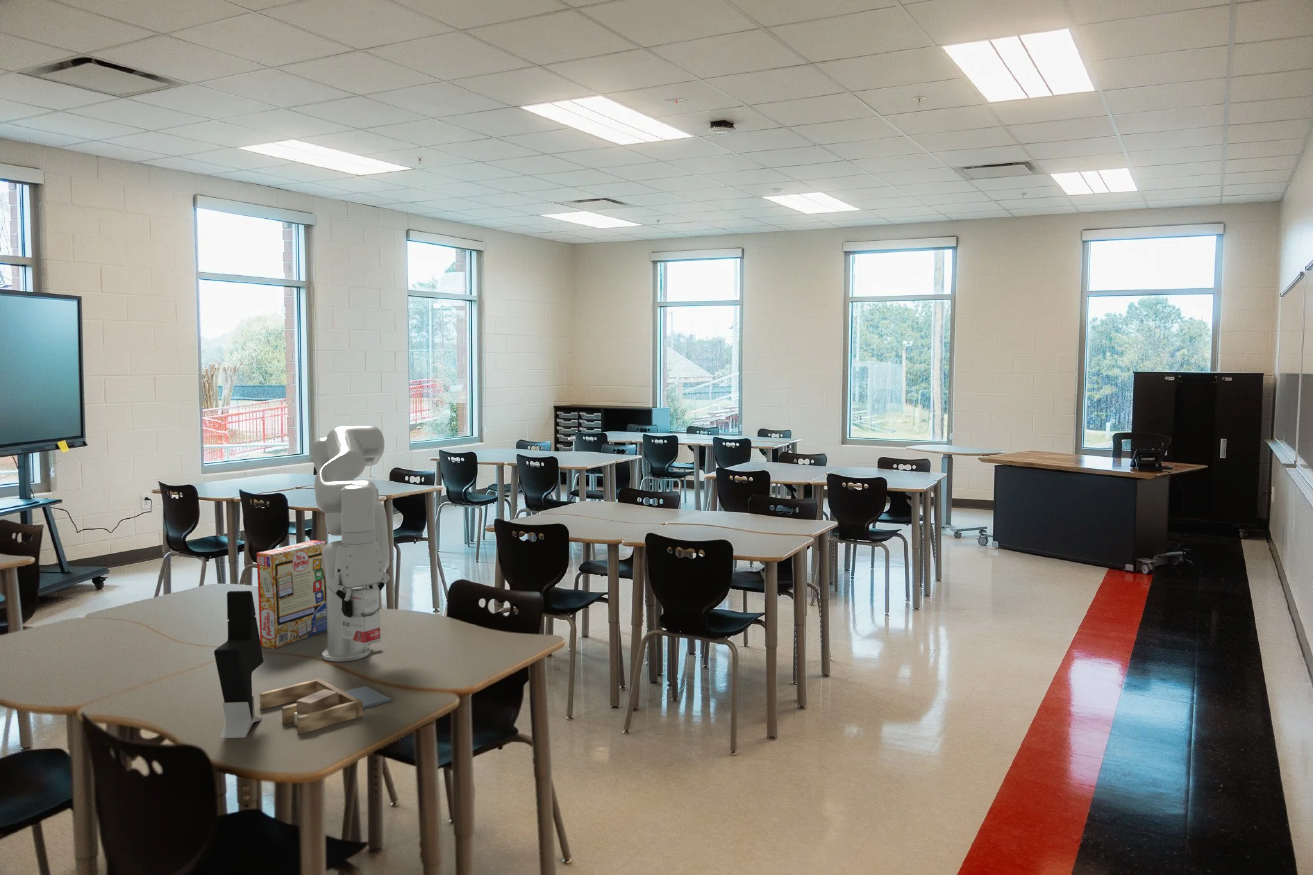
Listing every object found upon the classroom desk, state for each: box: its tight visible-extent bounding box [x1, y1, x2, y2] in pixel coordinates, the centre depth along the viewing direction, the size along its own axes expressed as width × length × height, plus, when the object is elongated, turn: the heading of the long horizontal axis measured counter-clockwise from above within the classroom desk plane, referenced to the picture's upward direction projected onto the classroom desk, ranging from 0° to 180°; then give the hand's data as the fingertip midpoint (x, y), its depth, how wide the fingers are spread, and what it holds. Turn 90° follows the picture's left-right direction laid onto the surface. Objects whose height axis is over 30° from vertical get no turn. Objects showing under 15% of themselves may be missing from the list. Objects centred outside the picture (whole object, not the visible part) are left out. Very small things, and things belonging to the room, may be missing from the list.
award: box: [213, 590, 264, 739], centre depth 198 cm, size 15×5×30 cm, turn 5°
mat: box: [344, 685, 391, 710], centre depth 217 cm, size 8×12×1 cm, turn 45°
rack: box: [259, 677, 364, 735], centre depth 208 cm, size 14×22×4 cm, turn 45°
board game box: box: [256, 539, 327, 650], centre depth 264 cm, size 20×6×27 cm, turn 154°
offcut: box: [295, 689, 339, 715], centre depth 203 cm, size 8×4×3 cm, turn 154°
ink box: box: [341, 586, 381, 643], centre depth 215 cm, size 9×5×12 cm, turn 57°
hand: (360, 612), depth 215 cm, fingers closed on ink box, 5 cm apart
